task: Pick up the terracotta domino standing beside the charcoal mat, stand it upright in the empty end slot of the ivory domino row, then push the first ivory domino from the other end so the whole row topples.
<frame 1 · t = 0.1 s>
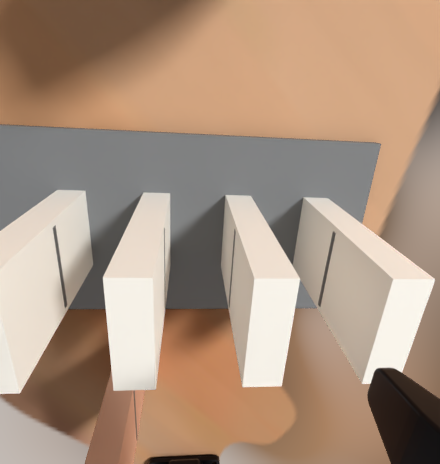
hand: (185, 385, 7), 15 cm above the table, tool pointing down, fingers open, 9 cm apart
domino 3: (157, 230, 21), point 1 cm above the table, touching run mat
domino 1: (309, 233, 22), point 1 cm above the table, touching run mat
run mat: (166, 227, 21), on the table
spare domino: (134, 357, 25), on the table
domino 4: (76, 229, 20), point 1 cm above the table, touching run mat
domino 2: (235, 232, 21), point 1 cm above the table, touching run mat
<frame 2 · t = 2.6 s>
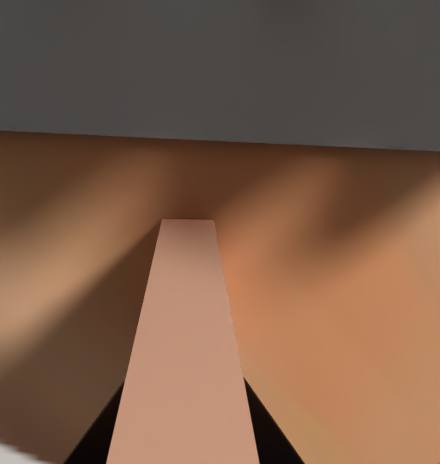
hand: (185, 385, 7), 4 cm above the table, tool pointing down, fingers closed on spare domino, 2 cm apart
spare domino: (186, 288, 11), on the table, touching gripper
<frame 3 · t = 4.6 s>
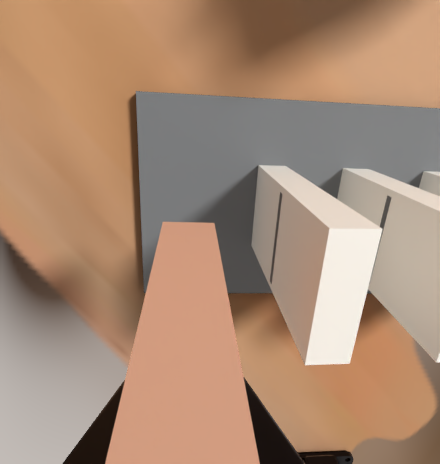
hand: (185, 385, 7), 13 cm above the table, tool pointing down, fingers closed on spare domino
domino 3: (347, 209, 20), point 1 cm above the table, touching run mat
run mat: (351, 206, 21), on the table
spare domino: (187, 291, 11), point 9 cm above the table, touching gripper
domino 4: (267, 207, 20), point 1 cm above the table, touching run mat
domino 2: (424, 211, 20), point 1 cm above the table, touching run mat
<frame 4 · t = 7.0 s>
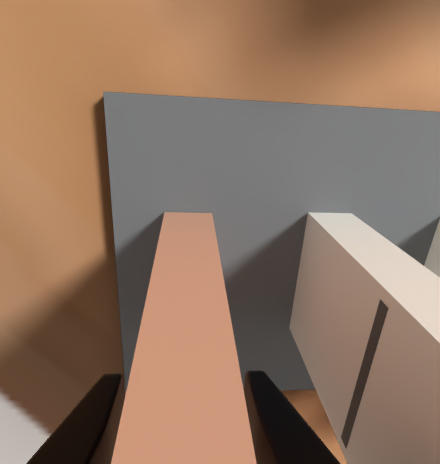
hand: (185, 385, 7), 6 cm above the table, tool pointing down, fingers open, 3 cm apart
domino 3: (439, 275, 13), point 1 cm above the table, touching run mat
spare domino: (187, 276, 12), point 1 cm above the table, touching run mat
domino 4: (318, 274, 12), point 1 cm above the table, touching gripper, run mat
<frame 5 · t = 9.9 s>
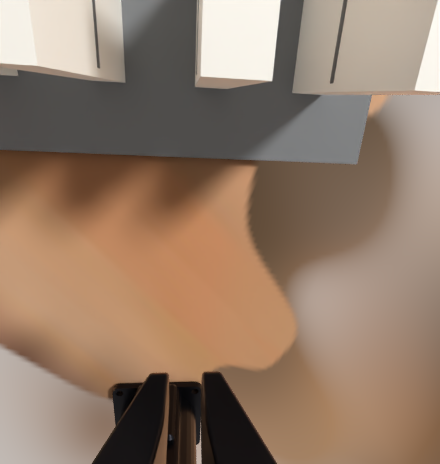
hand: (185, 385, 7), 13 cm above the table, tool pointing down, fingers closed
domino 3: (104, 21, 15), point 1 cm above the table, touching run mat
domino 1: (315, 38, 16), point 1 cm above the table, touching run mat
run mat: (118, 25, 16), on the table
domino 2: (213, 30, 15), point 1 cm above the table, touching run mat
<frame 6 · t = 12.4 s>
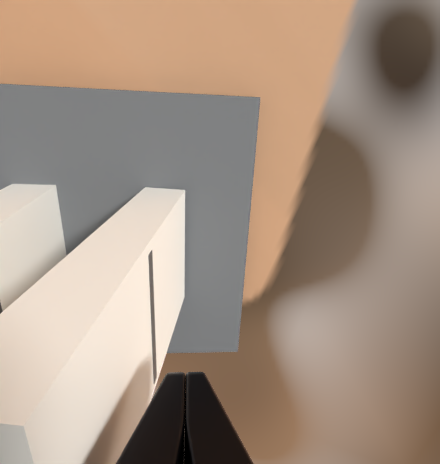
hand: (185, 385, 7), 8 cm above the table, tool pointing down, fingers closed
domino 1: (166, 245, 14), point 1 cm above the table, tilted 9°, touching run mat
domino 2: (44, 243, 14), point 1 cm above the table, touching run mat
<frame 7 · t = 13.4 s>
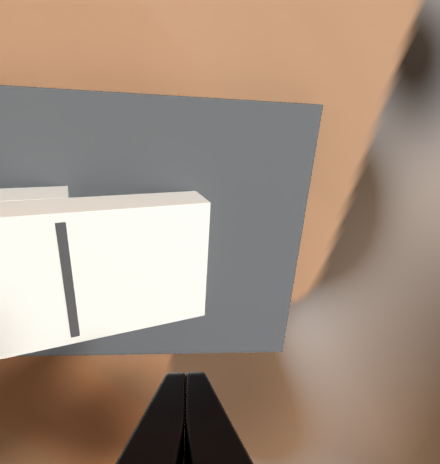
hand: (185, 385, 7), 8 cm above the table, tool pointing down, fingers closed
domino 1: (200, 254, 14), point 1 cm above the table, tilted 71°, touching domino 2, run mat
domino 2: (75, 252, 13), point 1 cm above the table, tilted 72°, touching domino 1, domino 3, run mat
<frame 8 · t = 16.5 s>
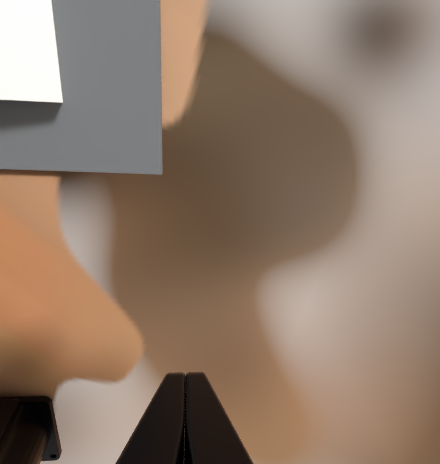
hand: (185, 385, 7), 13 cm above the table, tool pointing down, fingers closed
domino 1: (55, 41, 14), point 1 cm above the table, tilted 71°, touching domino 2, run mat
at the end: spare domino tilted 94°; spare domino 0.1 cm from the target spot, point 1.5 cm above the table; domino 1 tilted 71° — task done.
